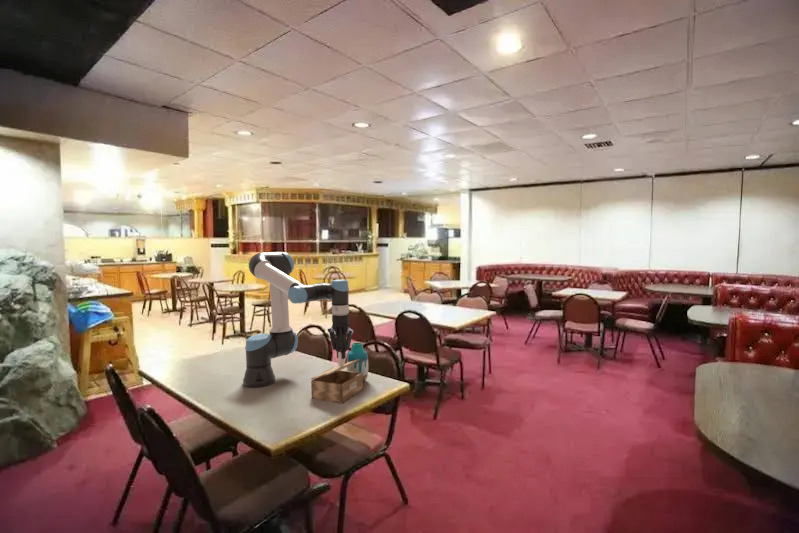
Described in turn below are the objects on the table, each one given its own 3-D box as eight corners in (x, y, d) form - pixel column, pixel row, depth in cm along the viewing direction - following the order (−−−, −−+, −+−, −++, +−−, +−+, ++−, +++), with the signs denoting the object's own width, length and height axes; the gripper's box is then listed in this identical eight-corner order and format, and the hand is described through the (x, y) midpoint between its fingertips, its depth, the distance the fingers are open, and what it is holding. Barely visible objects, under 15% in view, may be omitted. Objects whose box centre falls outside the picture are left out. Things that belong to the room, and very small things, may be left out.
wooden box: (311, 398, 180) (311, 380, 179) (334, 385, 196) (333, 368, 195) (342, 403, 173) (342, 385, 172) (363, 389, 189) (363, 373, 189)
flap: (311, 379, 180) (311, 378, 180) (332, 368, 195) (332, 367, 195) (339, 370, 173) (339, 369, 173) (359, 360, 189) (359, 358, 189)
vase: (365, 385, 195) (364, 346, 193) (344, 384, 197) (343, 345, 196) (371, 378, 205) (370, 341, 204) (351, 377, 207) (350, 340, 206)
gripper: (323, 314, 181) (324, 366, 182) (348, 316, 175) (349, 369, 177) (332, 311, 187) (333, 361, 189) (357, 313, 182) (358, 364, 183)
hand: (341, 365), depth 183 cm, fingers closed
